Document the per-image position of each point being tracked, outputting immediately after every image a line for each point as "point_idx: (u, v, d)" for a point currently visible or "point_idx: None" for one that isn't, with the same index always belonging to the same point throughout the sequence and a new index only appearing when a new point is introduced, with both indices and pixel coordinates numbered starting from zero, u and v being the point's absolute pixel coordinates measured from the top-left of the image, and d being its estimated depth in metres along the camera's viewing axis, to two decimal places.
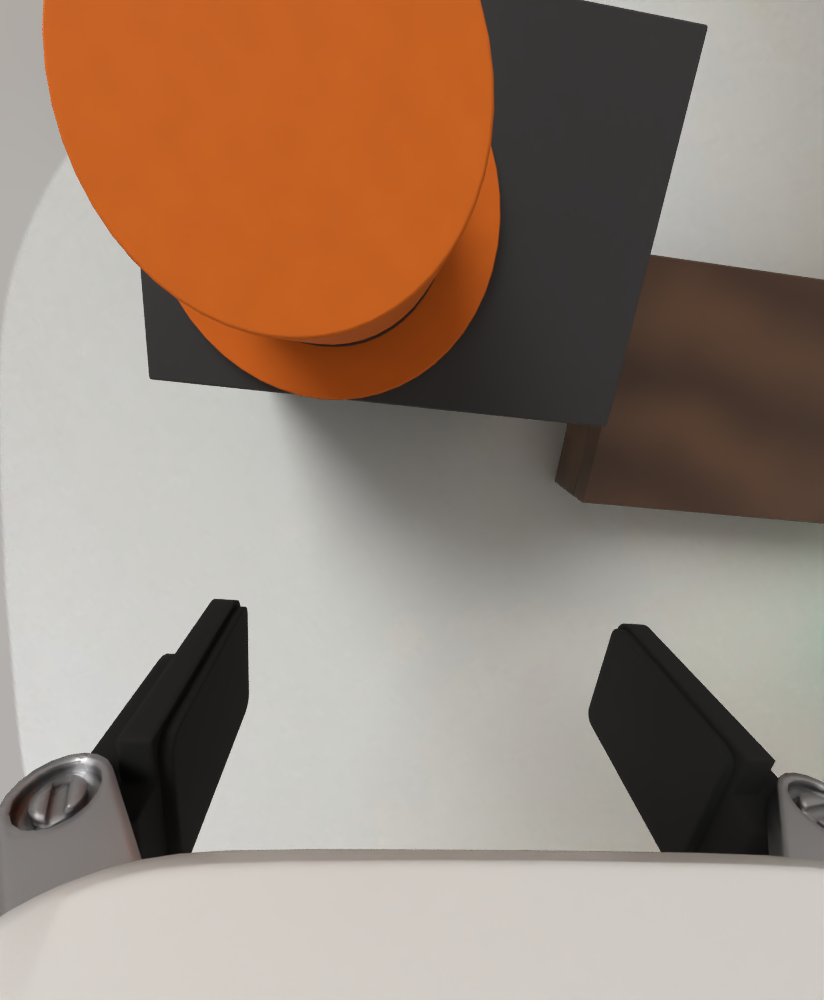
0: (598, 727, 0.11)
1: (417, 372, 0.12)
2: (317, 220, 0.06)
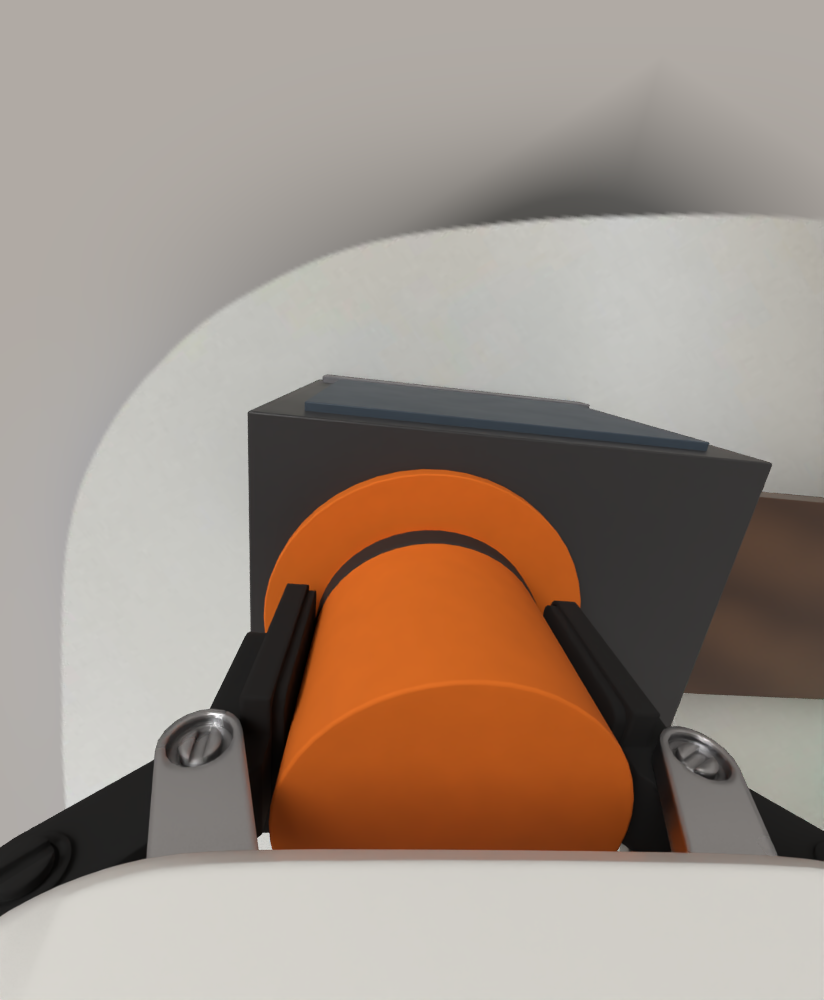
0: None
1: None
2: None
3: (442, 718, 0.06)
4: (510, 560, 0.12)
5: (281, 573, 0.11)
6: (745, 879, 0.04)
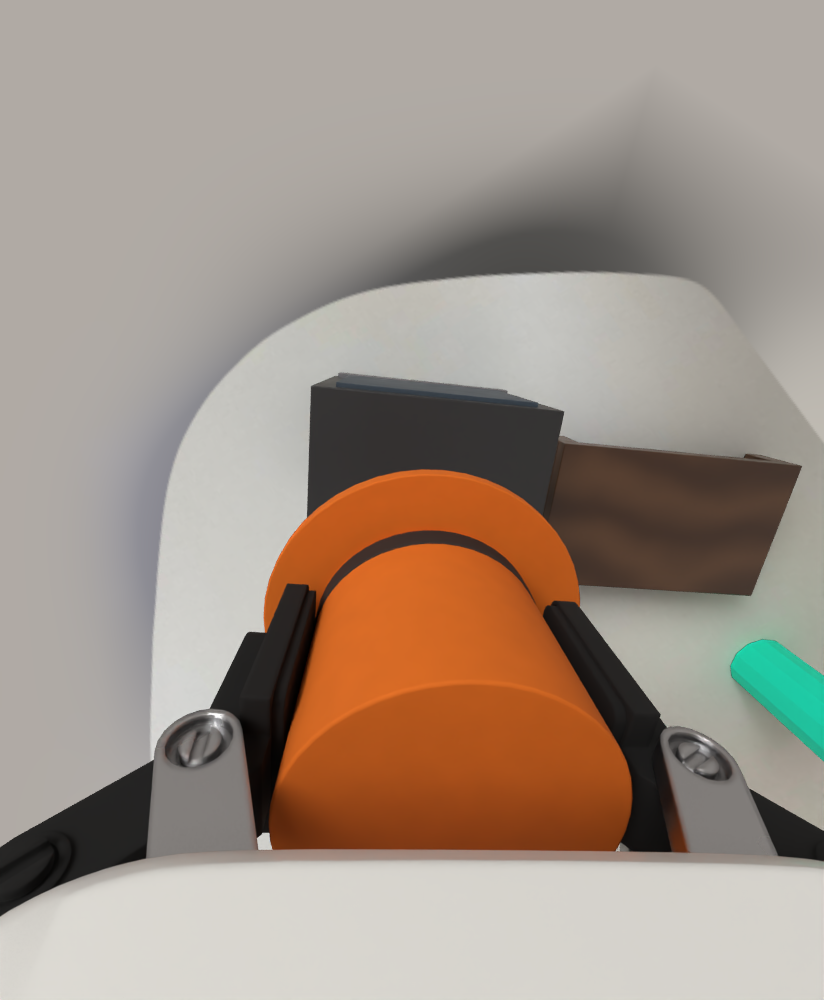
0: None
1: None
2: None
3: (441, 718, 0.06)
4: (509, 560, 0.12)
5: (281, 573, 0.11)
6: (745, 879, 0.04)
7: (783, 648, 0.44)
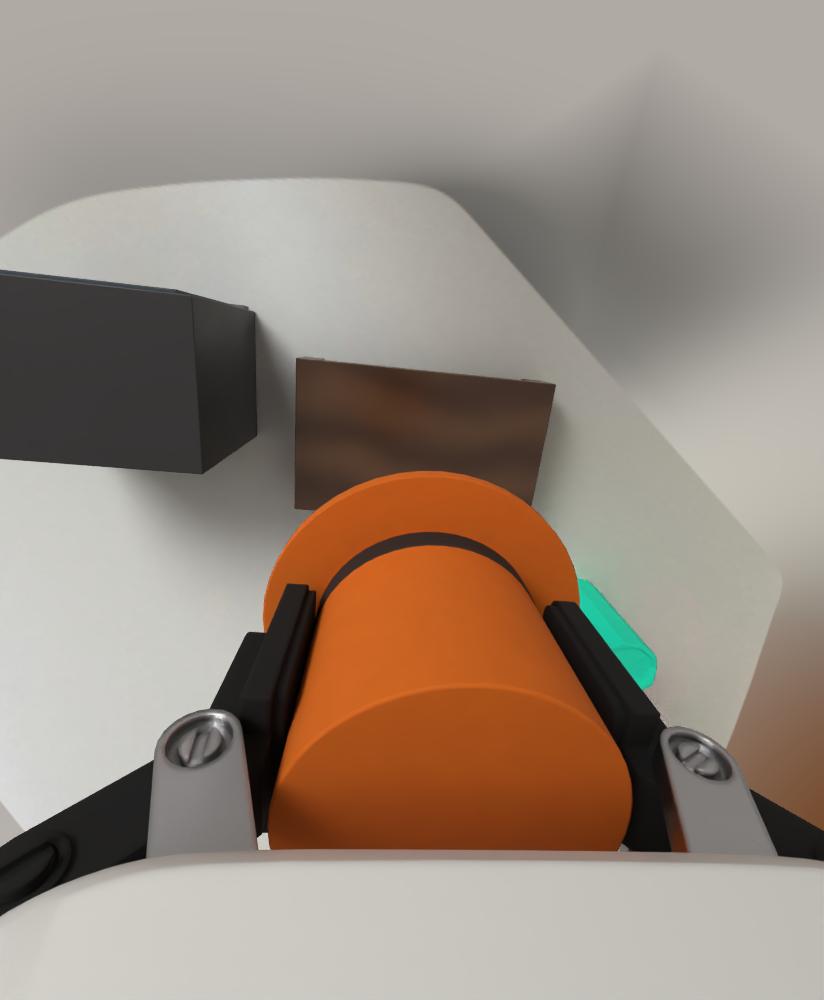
0: None
1: None
2: None
3: (440, 722, 0.06)
4: (509, 562, 0.12)
5: (280, 575, 0.11)
6: (745, 879, 0.04)
7: (589, 586, 0.43)
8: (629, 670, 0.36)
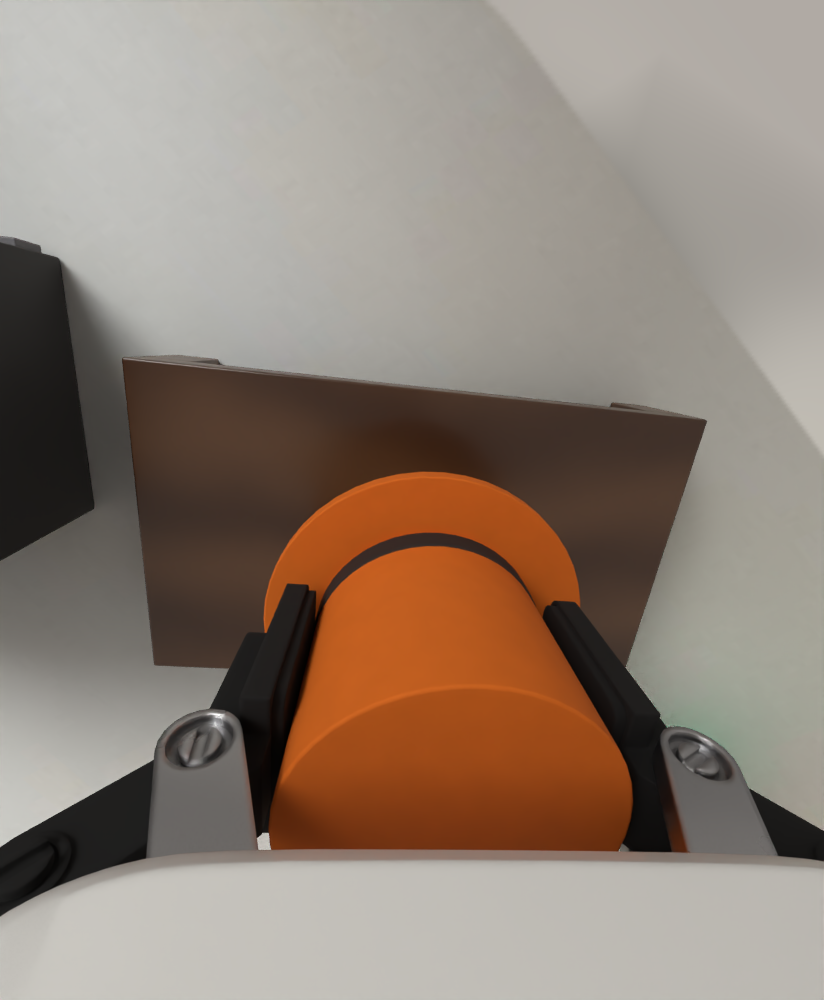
0: None
1: None
2: None
3: (442, 722, 0.06)
4: (510, 562, 0.12)
5: (281, 575, 0.11)
6: (745, 879, 0.04)
7: None
8: None
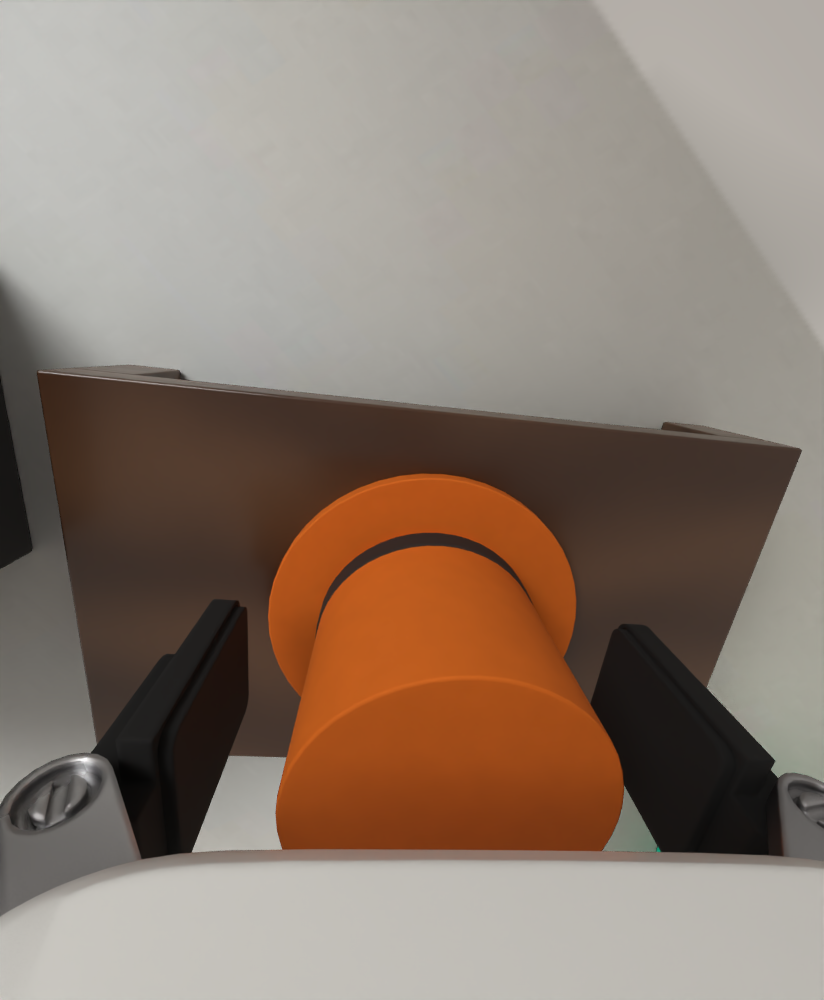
0: None
1: None
2: None
3: (440, 712, 0.07)
4: (507, 562, 0.12)
5: (285, 574, 0.12)
6: (745, 879, 0.04)
7: None
8: None
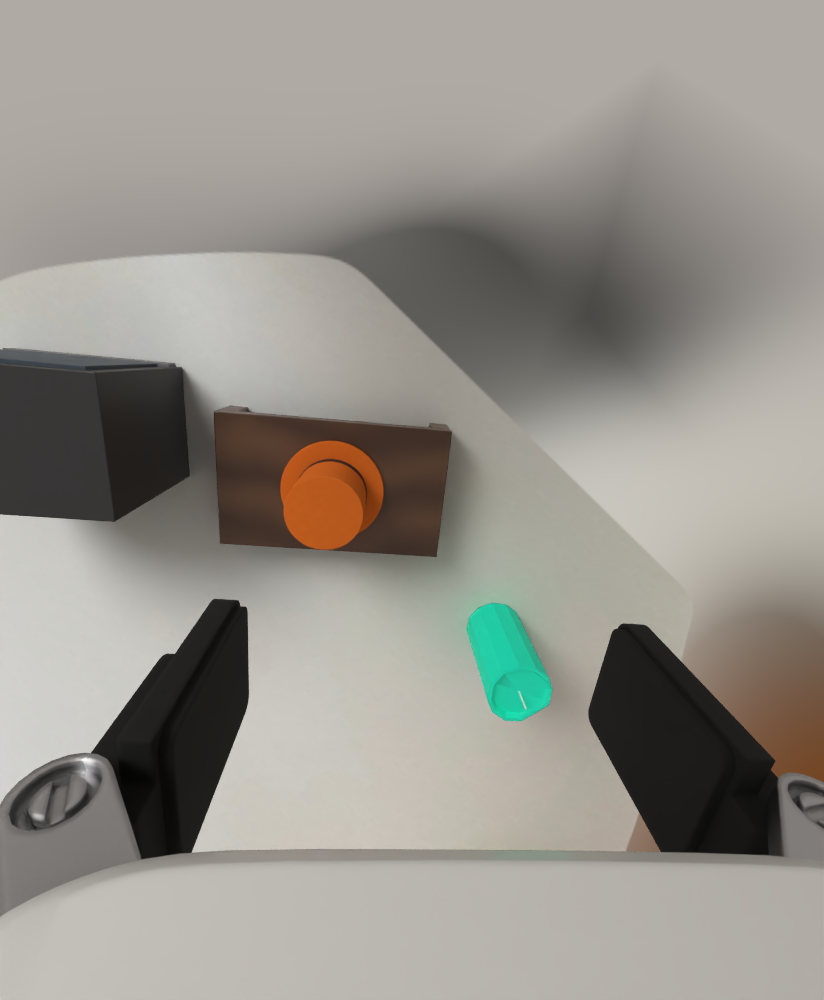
0: (598, 727, 0.11)
1: (361, 530, 0.39)
2: (330, 530, 0.33)
3: (317, 484, 0.32)
4: (357, 469, 0.37)
5: (285, 473, 0.37)
6: (745, 879, 0.04)
7: (505, 610, 0.47)
8: (527, 691, 0.39)
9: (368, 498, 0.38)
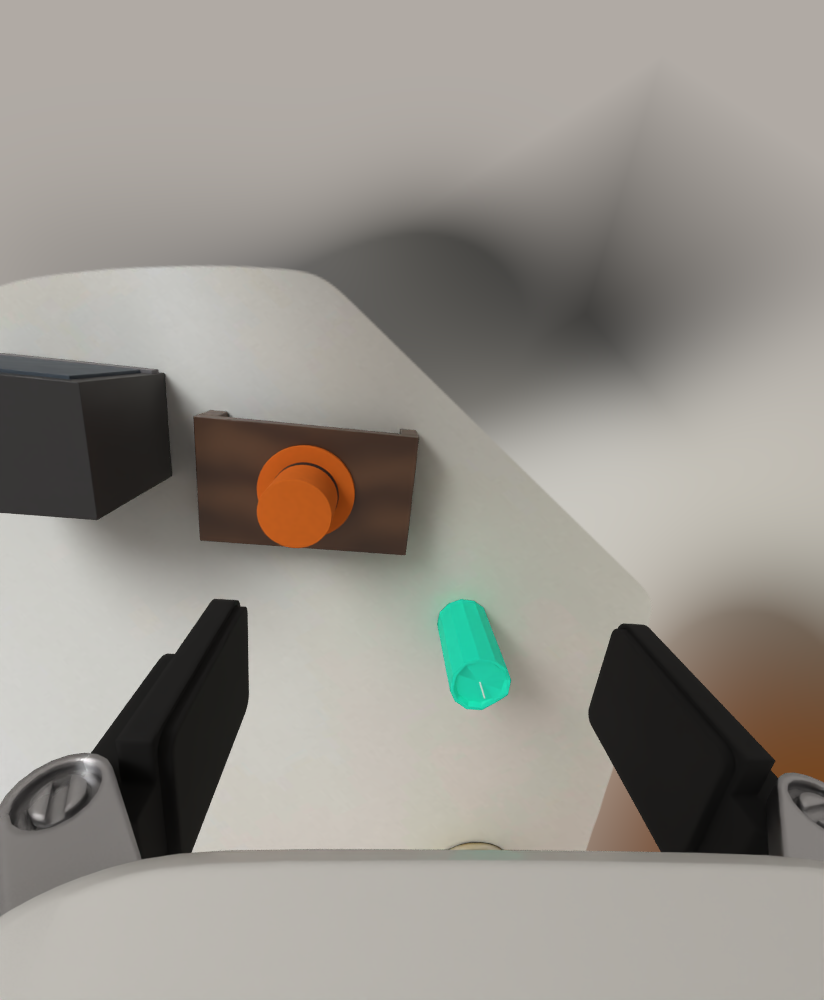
0: (598, 727, 0.11)
1: (333, 529, 0.42)
2: (301, 530, 0.36)
3: (288, 487, 0.34)
4: (329, 472, 0.40)
5: (261, 475, 0.39)
6: (745, 879, 0.04)
7: (473, 606, 0.49)
8: (487, 682, 0.42)
9: (340, 499, 0.41)
